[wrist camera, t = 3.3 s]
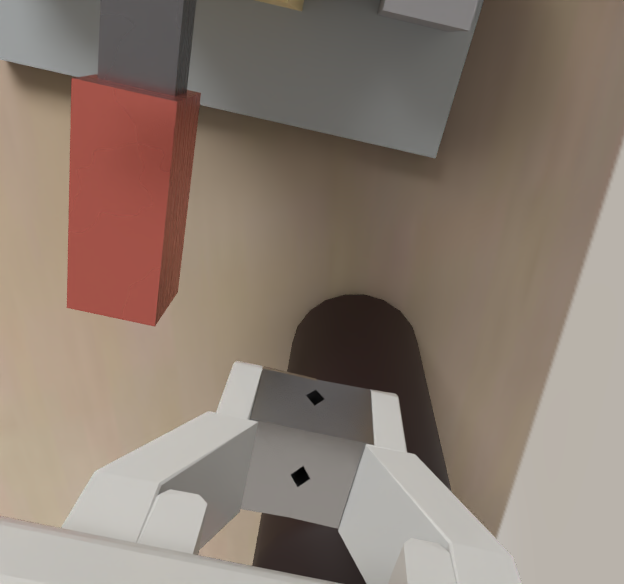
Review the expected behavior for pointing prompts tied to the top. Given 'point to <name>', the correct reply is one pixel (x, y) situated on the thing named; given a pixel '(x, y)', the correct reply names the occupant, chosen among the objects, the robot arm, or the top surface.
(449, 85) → the valve assembly
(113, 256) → the lever
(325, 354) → the bottle
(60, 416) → the top surface
